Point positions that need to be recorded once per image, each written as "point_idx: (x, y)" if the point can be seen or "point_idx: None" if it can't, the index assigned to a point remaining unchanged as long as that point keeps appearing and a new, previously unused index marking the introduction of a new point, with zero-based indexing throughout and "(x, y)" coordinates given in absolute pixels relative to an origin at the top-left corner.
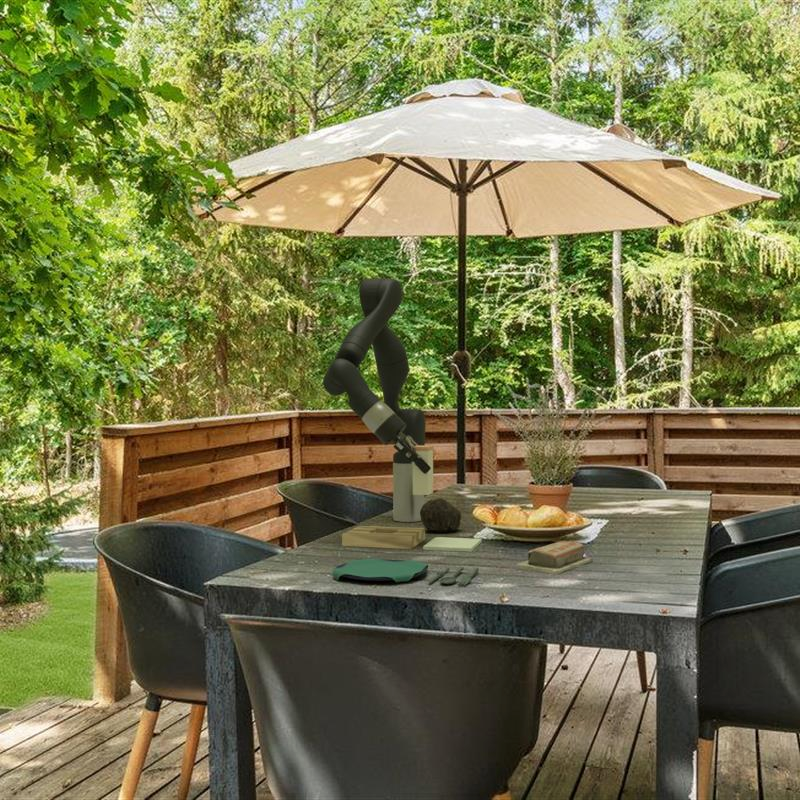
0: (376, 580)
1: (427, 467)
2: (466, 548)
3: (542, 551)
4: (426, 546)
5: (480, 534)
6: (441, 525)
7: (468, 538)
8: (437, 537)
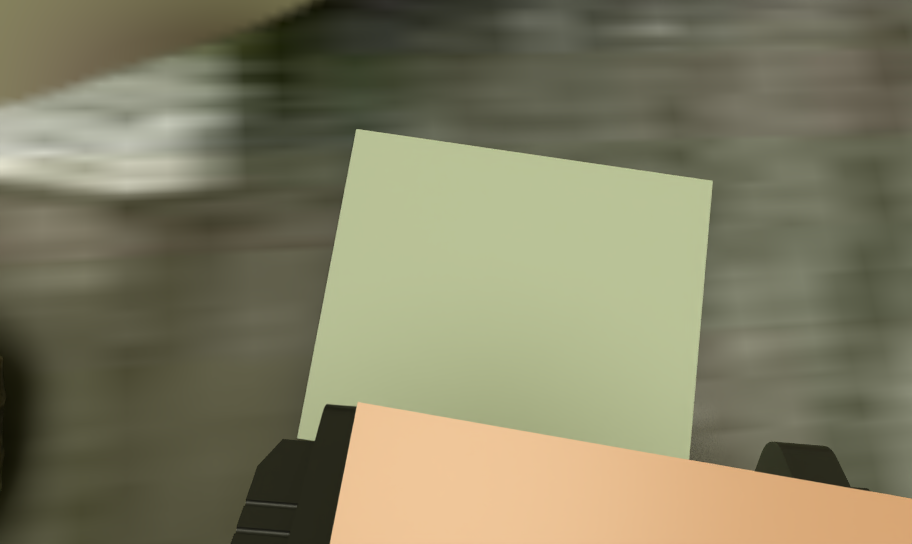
0: None
1: None
2: (709, 209)
3: None
4: None
5: (51, 152)
6: (1, 416)
7: (342, 211)
8: (312, 426)
